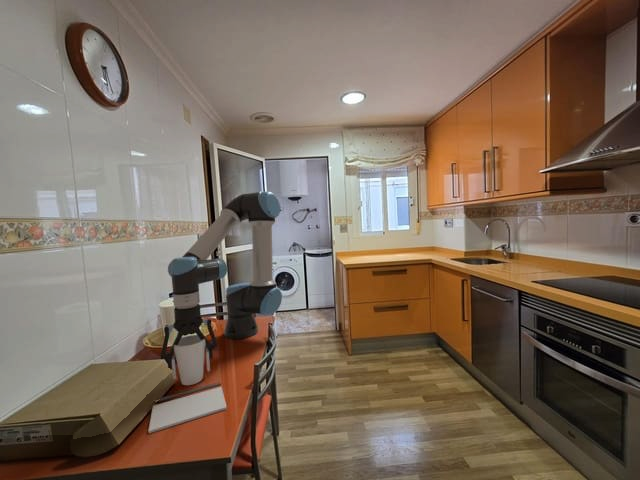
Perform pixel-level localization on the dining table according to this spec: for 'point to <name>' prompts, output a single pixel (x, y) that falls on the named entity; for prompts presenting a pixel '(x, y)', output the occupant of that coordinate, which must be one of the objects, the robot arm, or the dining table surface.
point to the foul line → (190, 391)
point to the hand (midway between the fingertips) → (191, 373)
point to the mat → (186, 409)
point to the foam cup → (190, 359)
